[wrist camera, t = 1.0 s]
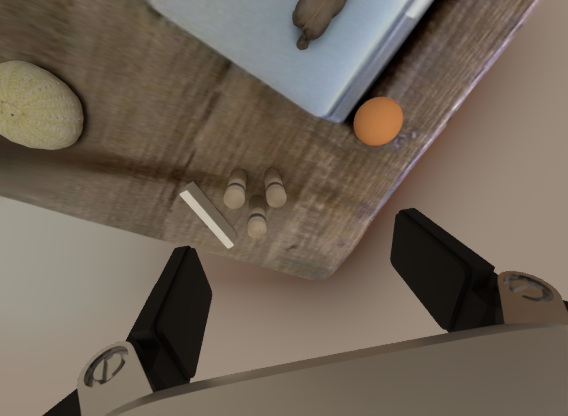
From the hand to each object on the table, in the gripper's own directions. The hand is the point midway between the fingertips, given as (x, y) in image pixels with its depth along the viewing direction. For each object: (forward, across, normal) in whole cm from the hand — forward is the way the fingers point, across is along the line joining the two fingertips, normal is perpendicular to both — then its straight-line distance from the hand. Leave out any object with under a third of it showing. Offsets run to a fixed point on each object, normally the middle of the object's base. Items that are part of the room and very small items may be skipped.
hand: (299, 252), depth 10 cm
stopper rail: (+24, +11, +9) cm, 28 cm away
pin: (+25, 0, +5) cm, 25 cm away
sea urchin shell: (+25, +26, -8) cm, 37 cm away
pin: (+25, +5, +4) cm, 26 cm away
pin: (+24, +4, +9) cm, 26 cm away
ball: (+22, -14, -1) cm, 26 cm away
